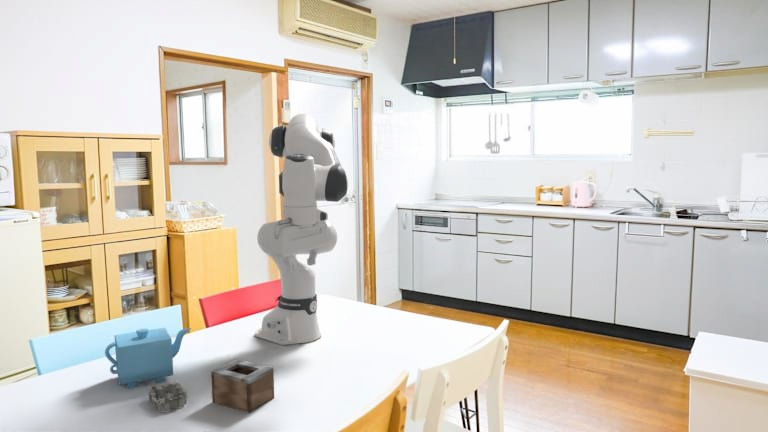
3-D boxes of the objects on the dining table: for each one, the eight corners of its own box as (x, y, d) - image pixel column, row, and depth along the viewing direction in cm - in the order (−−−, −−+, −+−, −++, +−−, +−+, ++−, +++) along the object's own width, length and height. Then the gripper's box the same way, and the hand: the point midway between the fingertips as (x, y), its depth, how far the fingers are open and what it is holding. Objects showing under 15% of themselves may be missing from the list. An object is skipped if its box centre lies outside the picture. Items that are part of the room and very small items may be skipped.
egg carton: (146, 399, 139) (145, 383, 138) (177, 391, 143) (176, 376, 143) (157, 415, 130) (156, 398, 130) (189, 406, 135) (189, 390, 134)
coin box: (212, 402, 137) (211, 371, 136) (237, 388, 145) (236, 359, 144) (249, 412, 131) (248, 380, 130) (274, 397, 139) (273, 367, 138)
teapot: (108, 393, 142) (105, 341, 140) (105, 378, 151) (102, 329, 149) (197, 376, 152) (195, 328, 151) (189, 363, 162) (187, 317, 160)
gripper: (284, 221, 134) (286, 277, 136) (331, 213, 152) (331, 262, 154) (264, 220, 137) (266, 274, 139) (312, 211, 155) (313, 260, 157)
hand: (301, 268), depth 146 cm, fingers open, 8 cm apart
